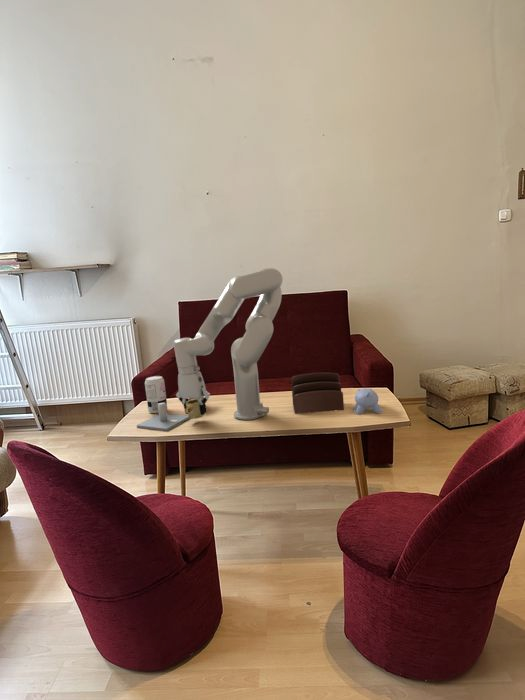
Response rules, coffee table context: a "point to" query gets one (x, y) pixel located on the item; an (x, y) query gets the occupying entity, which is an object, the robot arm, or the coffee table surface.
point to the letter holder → (317, 392)
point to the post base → (162, 424)
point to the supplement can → (155, 393)
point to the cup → (193, 409)
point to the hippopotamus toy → (366, 401)
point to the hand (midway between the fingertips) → (196, 413)
